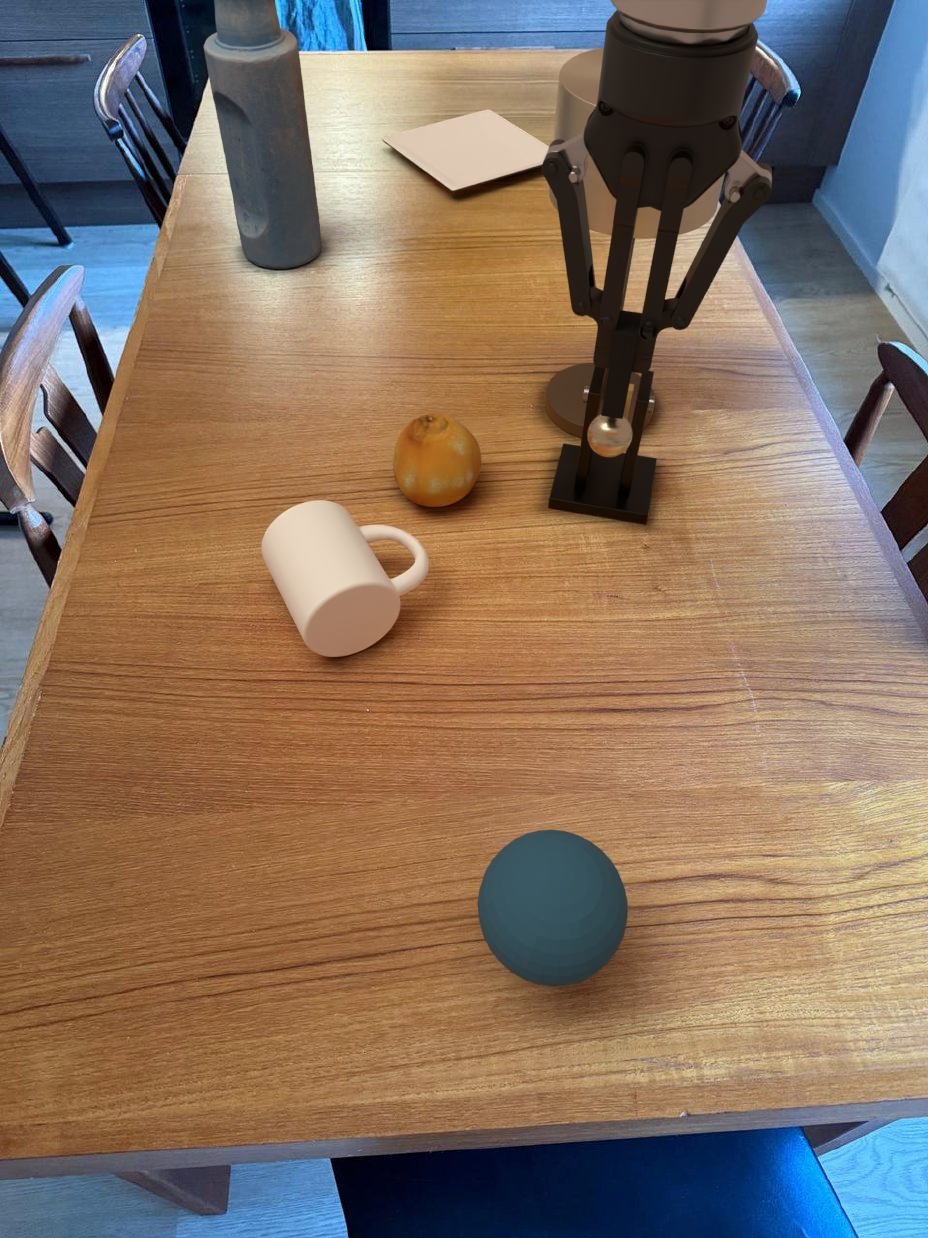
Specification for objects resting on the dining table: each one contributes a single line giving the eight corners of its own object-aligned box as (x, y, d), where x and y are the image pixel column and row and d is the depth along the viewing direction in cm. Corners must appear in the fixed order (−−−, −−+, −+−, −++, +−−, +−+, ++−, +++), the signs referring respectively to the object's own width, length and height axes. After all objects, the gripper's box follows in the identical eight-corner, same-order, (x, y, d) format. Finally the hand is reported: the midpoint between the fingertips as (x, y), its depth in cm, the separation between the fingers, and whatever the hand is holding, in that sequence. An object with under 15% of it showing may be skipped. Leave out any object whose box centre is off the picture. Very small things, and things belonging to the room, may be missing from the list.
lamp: (661, 461, 86) (741, 126, 63) (518, 438, 88) (544, 104, 64) (673, 376, 95) (748, 54, 71) (543, 357, 97) (574, 36, 73)
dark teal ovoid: (454, 916, 58) (456, 832, 48) (572, 872, 60) (595, 784, 51) (505, 1046, 53) (517, 981, 44) (631, 994, 55) (668, 921, 46)
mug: (310, 671, 70) (297, 605, 64) (268, 585, 75) (252, 517, 69) (448, 619, 73) (448, 552, 67) (398, 540, 79) (394, 472, 73)
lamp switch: (626, 465, 64) (635, 421, 62) (582, 458, 64) (589, 413, 63) (634, 417, 78) (641, 380, 76) (597, 411, 78) (604, 374, 77)
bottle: (338, 250, 110) (310, -43, 87) (274, 280, 106) (226, -21, 83) (289, 222, 114) (250, -65, 91) (226, 250, 110) (167, -45, 87)
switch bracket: (646, 524, 81) (671, 419, 72) (547, 507, 82) (560, 402, 73) (654, 467, 86) (679, 362, 77) (561, 452, 87) (575, 346, 78)
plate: (452, 204, 118) (452, 188, 117) (381, 151, 128) (380, 135, 126) (564, 170, 125) (566, 155, 123) (488, 122, 135) (489, 107, 133)
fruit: (369, 447, 83) (390, 410, 76) (447, 427, 86) (474, 390, 79) (400, 528, 83) (424, 499, 75) (477, 506, 86) (508, 475, 78)
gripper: (818, 3, 46) (711, 387, 64) (565, -21, 47) (532, 360, 66) (821, 57, 41) (705, 455, 59) (541, 28, 43) (512, 423, 61)
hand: (614, 405), depth 62 cm, fingers closed
